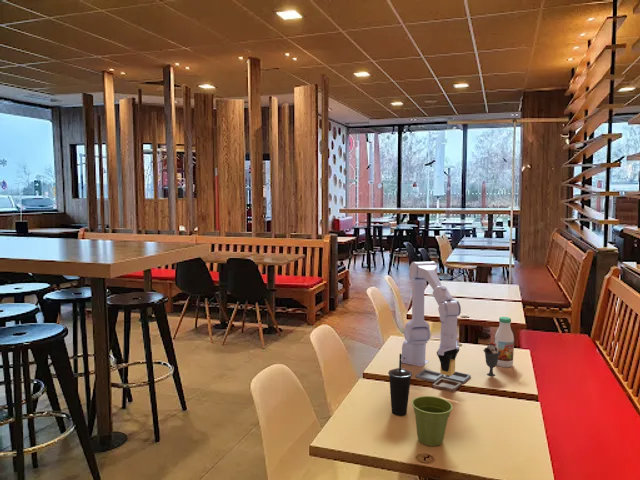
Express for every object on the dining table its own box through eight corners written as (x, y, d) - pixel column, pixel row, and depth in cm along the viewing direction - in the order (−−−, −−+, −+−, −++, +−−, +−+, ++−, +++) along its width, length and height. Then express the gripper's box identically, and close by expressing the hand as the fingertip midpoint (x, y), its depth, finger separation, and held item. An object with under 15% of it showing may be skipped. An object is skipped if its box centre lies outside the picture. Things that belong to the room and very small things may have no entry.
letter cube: (440, 373, 189) (440, 360, 188) (444, 370, 192) (445, 357, 191) (450, 376, 186) (451, 362, 186) (454, 372, 190) (455, 359, 189)
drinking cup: (412, 409, 171) (414, 351, 169) (408, 419, 164) (410, 359, 162) (389, 406, 173) (391, 349, 171) (385, 416, 166) (386, 356, 164)
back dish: (442, 380, 197) (443, 376, 197) (450, 374, 203) (450, 370, 203) (463, 385, 192) (463, 381, 192) (470, 378, 199) (470, 374, 199)
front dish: (432, 388, 189) (432, 384, 189) (440, 381, 195) (441, 378, 195) (453, 393, 184) (453, 389, 184) (461, 386, 191) (461, 382, 191)
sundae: (497, 373, 205) (499, 336, 203) (501, 379, 198) (503, 341, 196) (480, 372, 205) (482, 336, 204) (484, 378, 199) (485, 341, 197)
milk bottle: (490, 364, 214) (492, 318, 212) (498, 360, 220) (500, 314, 218) (508, 369, 209) (510, 321, 207) (515, 364, 215) (518, 317, 212)
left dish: (415, 378, 198) (415, 375, 198) (424, 372, 205) (424, 369, 204) (435, 383, 194) (435, 379, 193) (443, 377, 200) (443, 373, 200)
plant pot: (425, 454, 143) (427, 416, 141) (402, 435, 154) (403, 399, 152) (460, 446, 147) (461, 408, 146) (435, 428, 158) (436, 393, 157)
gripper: (451, 339, 179) (450, 377, 181) (466, 330, 191) (465, 365, 192) (432, 336, 183) (431, 373, 185) (448, 327, 195) (447, 361, 197)
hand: (447, 369), depth 189 cm, fingers closed on letter cube, 4 cm apart
